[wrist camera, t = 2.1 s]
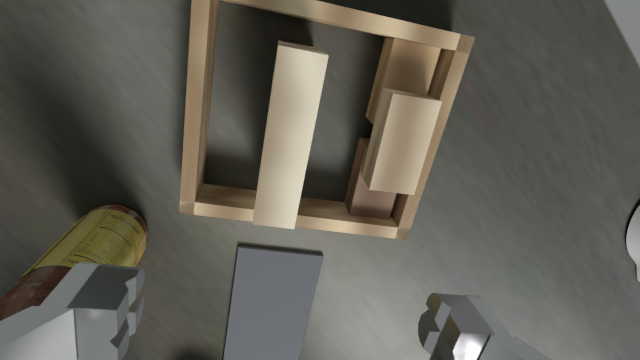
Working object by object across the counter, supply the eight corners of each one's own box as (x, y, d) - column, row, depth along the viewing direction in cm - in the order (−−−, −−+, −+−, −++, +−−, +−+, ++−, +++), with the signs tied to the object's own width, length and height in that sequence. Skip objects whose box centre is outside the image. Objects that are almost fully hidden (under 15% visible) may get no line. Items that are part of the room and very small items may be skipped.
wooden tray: (451, 36, 31) (474, 37, 27) (394, 219, 38) (406, 240, 34) (204, -21, 27) (193, -29, 24) (189, 193, 34) (179, 212, 30)
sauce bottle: (110, 264, 36) (-59, 502, 18) (69, 215, 34) (-175, 435, 16) (167, 239, 36) (53, 457, 18) (130, 188, 33) (-48, 382, 15)
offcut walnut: (398, 142, 35) (408, 151, 32) (380, 205, 37) (389, 219, 34) (358, 136, 34) (366, 145, 31) (343, 201, 36) (349, 215, 34)
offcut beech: (427, 95, 30) (442, 101, 27) (402, 181, 33) (414, 195, 30) (382, 87, 29) (393, 93, 27) (361, 176, 32) (369, 189, 30)
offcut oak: (426, 46, 31) (441, 48, 29) (404, 123, 34) (415, 131, 31) (384, 37, 31) (394, 38, 28) (364, 115, 33) (372, 123, 31)
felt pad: (322, 254, 38) (323, 256, 38) (295, 366, 45) (296, 369, 44) (238, 245, 37) (238, 247, 37) (223, 362, 43) (222, 365, 43)
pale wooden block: (313, 47, 30) (328, 55, 21) (290, 175, 35) (294, 229, 25) (278, 39, 30) (278, 45, 20) (259, 171, 34) (252, 224, 25)
